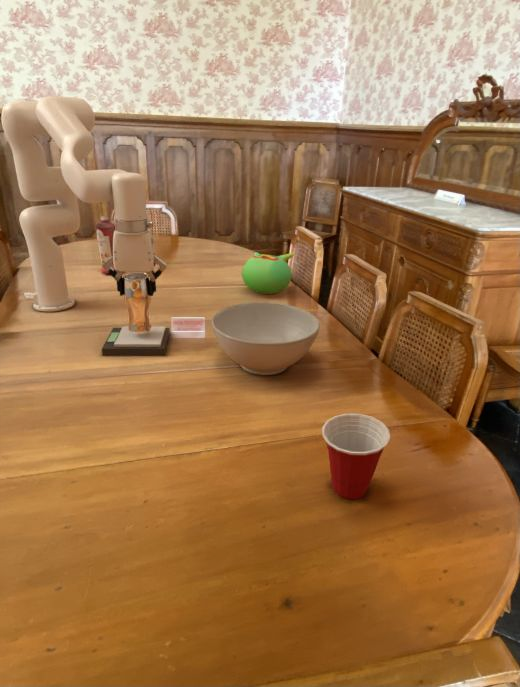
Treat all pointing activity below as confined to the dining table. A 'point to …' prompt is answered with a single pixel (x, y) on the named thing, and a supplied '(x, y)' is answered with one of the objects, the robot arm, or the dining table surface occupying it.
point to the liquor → (105, 237)
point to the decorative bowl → (265, 335)
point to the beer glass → (137, 301)
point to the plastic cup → (354, 451)
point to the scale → (137, 342)
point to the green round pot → (267, 273)
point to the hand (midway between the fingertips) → (137, 293)
